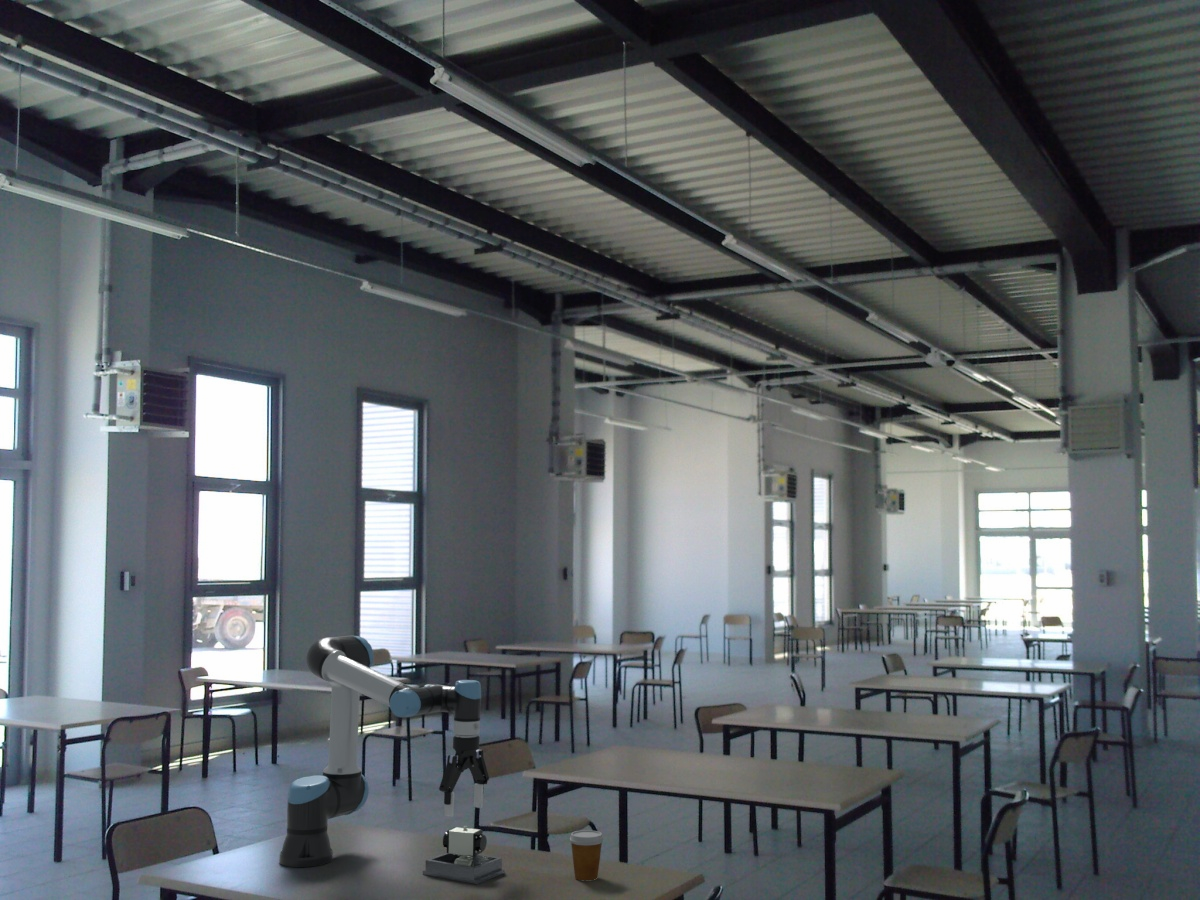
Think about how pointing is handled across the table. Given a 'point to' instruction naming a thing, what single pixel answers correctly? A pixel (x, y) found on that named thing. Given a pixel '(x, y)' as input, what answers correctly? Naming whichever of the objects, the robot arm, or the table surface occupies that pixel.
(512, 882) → the table surface
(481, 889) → the table surface
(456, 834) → the pneumatic valve
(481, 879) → the rectangular open-top bin
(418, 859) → the table surface
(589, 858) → the disposable coffee cup
